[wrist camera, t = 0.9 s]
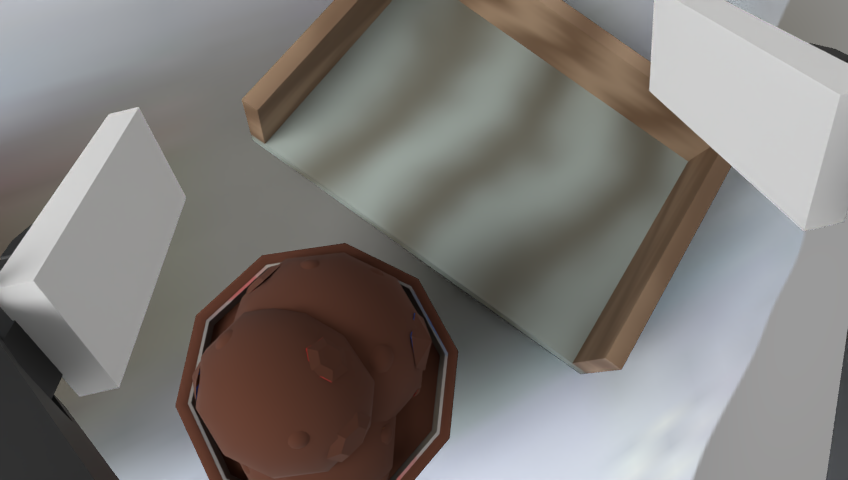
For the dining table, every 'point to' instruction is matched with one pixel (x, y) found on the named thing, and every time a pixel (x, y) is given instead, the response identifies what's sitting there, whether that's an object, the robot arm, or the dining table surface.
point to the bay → (499, 157)
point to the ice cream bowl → (318, 372)
